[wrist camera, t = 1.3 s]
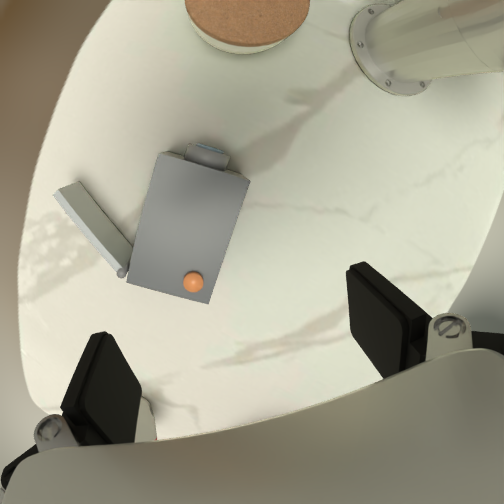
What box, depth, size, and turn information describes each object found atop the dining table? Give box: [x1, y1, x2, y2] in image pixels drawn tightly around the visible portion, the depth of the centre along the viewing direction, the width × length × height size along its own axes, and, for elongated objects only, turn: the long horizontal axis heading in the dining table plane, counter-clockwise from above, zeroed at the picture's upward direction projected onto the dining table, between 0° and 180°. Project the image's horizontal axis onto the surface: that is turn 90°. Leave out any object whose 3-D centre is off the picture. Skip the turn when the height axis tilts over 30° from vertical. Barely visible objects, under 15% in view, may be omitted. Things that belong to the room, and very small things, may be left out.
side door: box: [53, 182, 133, 278], centre depth 28 cm, size 10×1×6 cm, turn 35°
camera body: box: [127, 143, 250, 304], centre depth 29 cm, size 14×8×7 cm, turn 160°
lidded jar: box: [185, 0, 310, 54], centre depth 22 cm, size 11×11×9 cm
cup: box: [135, 397, 157, 442], centre depth 36 cm, size 8×8×10 cm
